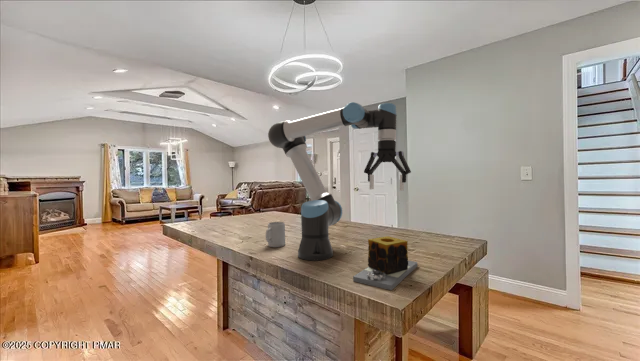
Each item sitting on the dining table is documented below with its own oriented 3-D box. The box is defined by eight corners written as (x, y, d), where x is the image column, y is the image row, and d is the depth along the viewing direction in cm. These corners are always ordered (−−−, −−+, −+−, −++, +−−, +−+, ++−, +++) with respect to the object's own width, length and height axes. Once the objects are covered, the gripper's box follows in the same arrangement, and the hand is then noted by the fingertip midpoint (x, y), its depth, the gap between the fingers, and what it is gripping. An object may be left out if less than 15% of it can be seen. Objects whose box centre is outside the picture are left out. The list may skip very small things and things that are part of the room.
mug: (275, 242, 143) (275, 221, 143) (288, 244, 139) (288, 222, 139) (259, 247, 133) (259, 225, 133) (273, 249, 129) (273, 226, 128)
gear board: (353, 281, 89) (353, 269, 89) (384, 260, 110) (384, 250, 110) (391, 290, 82) (391, 277, 82) (417, 266, 103) (417, 255, 103)
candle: (386, 275, 89) (386, 245, 89) (367, 266, 98) (366, 239, 97) (409, 269, 94) (408, 241, 94) (388, 262, 103) (388, 235, 102)
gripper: (419, 139, 113) (418, 190, 114) (364, 143, 128) (363, 188, 128) (413, 137, 107) (412, 191, 108) (356, 141, 121) (356, 189, 122)
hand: (386, 189), depth 118 cm, fingers open, 13 cm apart
